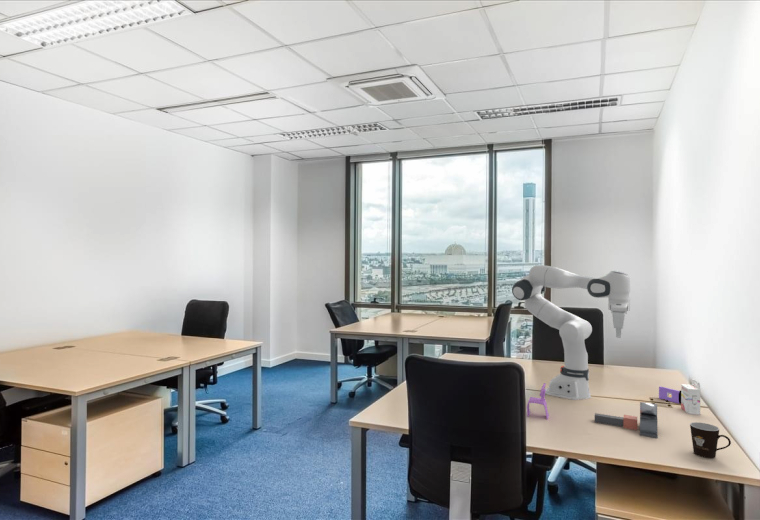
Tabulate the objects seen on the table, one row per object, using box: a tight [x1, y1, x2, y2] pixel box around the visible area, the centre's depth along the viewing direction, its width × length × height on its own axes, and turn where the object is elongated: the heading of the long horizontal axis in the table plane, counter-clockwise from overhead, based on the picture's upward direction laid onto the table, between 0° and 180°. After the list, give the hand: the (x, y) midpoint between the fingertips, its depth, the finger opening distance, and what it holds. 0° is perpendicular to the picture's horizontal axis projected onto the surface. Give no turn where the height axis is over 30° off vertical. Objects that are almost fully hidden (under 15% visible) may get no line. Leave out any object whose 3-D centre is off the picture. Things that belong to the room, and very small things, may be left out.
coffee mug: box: [689, 421, 732, 459], centre depth 162 cm, size 12×9×10 cm
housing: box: [639, 401, 659, 439], centre depth 188 cm, size 6×17×11 cm, turn 150°
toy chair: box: [526, 382, 550, 420], centre depth 204 cm, size 8×9×15 cm
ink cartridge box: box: [680, 378, 701, 416], centre depth 212 cm, size 9×5×15 cm, turn 168°
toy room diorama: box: [658, 386, 681, 405], centre depth 229 cm, size 12×12×7 cm
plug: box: [594, 412, 638, 431], centre depth 194 cm, size 16×4×4 cm, turn 60°
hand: (618, 336), depth 212 cm, fingers open, 8 cm apart
